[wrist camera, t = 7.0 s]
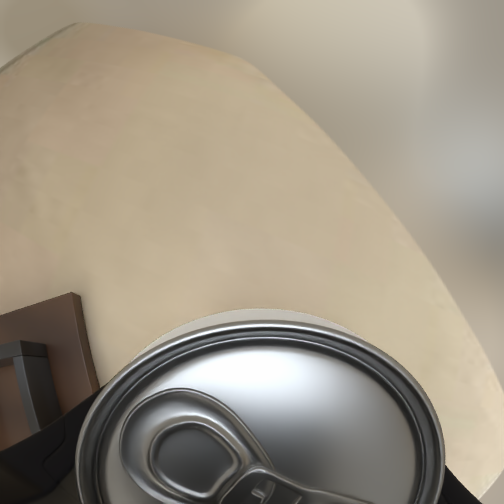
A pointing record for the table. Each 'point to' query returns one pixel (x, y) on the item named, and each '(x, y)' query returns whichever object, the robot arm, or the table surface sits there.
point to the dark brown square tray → (42, 366)
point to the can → (261, 419)
